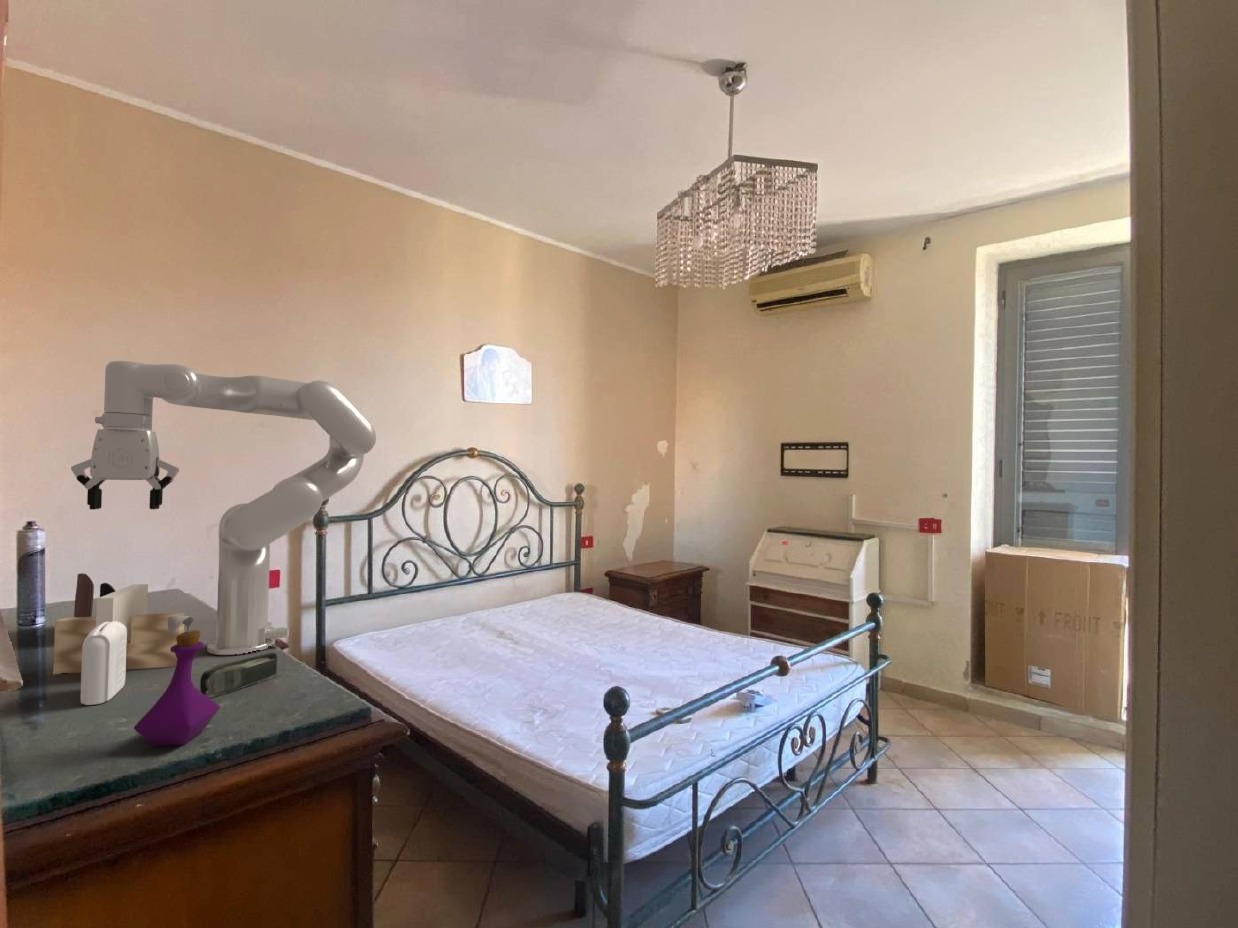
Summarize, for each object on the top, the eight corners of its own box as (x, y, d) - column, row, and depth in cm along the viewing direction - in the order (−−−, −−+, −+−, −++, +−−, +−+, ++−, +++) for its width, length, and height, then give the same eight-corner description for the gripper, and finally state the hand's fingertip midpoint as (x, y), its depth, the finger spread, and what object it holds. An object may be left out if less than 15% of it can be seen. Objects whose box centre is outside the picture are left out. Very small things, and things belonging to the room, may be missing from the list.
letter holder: (86, 644, 131) (88, 580, 131) (72, 628, 144) (74, 570, 144) (143, 636, 138) (145, 575, 138) (125, 621, 151) (127, 565, 151)
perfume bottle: (168, 728, 89) (172, 609, 90) (220, 727, 90) (224, 608, 90) (131, 751, 82) (136, 621, 82) (188, 750, 83) (193, 621, 83)
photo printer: (98, 687, 106) (100, 617, 106) (128, 683, 107) (130, 615, 108) (75, 707, 96) (78, 631, 97) (109, 703, 98) (112, 629, 98)
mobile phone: (269, 649, 114) (190, 671, 100) (281, 651, 113) (202, 673, 99) (268, 676, 114) (188, 701, 100) (280, 678, 113) (200, 704, 99)
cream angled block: (110, 679, 109) (113, 597, 110) (94, 680, 109) (97, 598, 109) (145, 656, 123) (147, 584, 123) (131, 657, 122) (133, 584, 122)
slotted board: (183, 662, 120) (184, 612, 120) (178, 666, 117) (179, 615, 117) (61, 670, 114) (63, 617, 114) (53, 674, 111) (55, 621, 112)
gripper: (64, 420, 112) (60, 510, 112) (173, 424, 118) (170, 510, 118) (83, 423, 119) (80, 508, 119) (185, 427, 125) (183, 507, 125)
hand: (125, 508), depth 119 cm, fingers open, 9 cm apart
